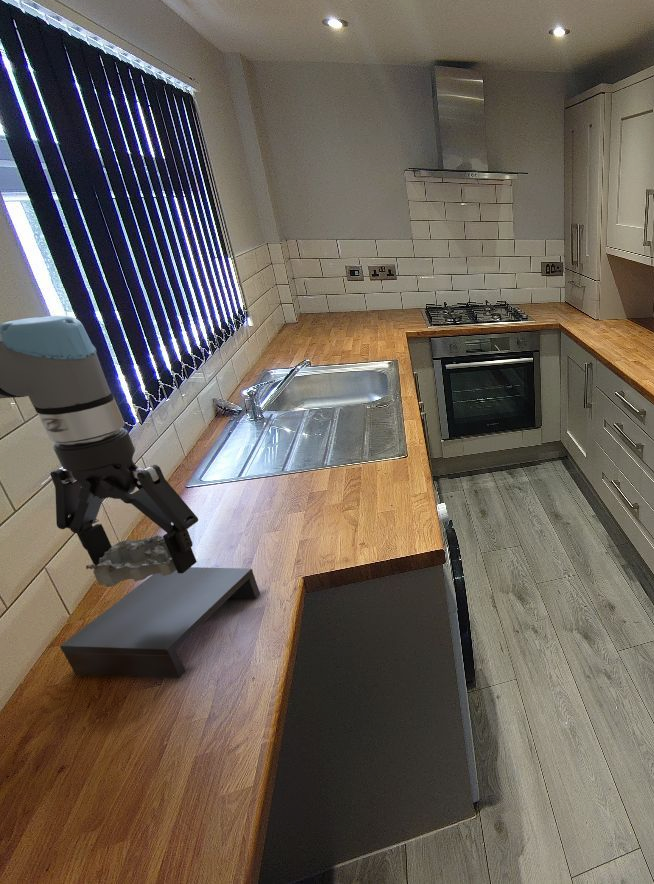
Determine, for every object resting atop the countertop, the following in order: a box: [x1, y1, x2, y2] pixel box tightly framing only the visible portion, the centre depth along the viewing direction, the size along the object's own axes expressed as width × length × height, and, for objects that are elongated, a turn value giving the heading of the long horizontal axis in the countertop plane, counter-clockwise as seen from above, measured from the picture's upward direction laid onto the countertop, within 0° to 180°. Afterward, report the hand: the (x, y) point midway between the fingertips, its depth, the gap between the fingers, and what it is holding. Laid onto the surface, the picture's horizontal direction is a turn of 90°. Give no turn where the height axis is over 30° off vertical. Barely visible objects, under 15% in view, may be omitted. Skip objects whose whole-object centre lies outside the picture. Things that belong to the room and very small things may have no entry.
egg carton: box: [85, 534, 176, 588], centre depth 78 cm, size 11×8×4 cm
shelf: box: [59, 566, 261, 679], centre depth 83 cm, size 16×18×6 cm
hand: (147, 566), depth 79 cm, fingers closed on egg carton, 12 cm apart
